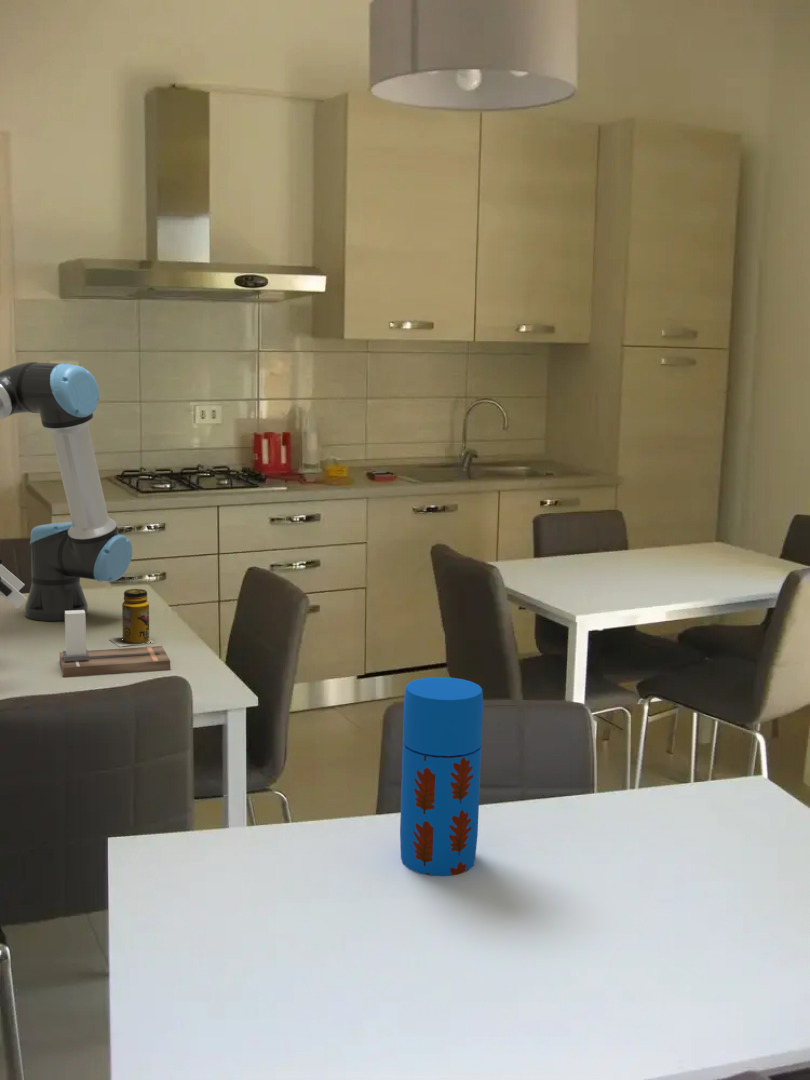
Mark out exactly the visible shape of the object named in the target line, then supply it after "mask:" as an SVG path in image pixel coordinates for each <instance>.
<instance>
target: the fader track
mask: <svg viewBox="0 0 810 1080" xmlns="http://www.w3.org/2000/svg"><path fill="white" fill-rule="evenodd" d="M87 651H88V654H89V660H82V661H67V662H65V661H64V657H63V651H62V652H59V663H60V668H62V669H61V671H62V672H61V673H62V676H63V678H70V677H83V676H100V675H110V674H111V675H113V674H114V675H115V674H126V673H127V674H128V673H141V672H144V673H145V672H157V671H158V672H159V671H169V670H171V659H170V658H169V656H168V654H167V652H166V651H165V649H164V647H163V645H157V646H156V645H155V646H150V645H149V646H147V645H146V646H144V647H143V646H142V647H139V646H138V647H125V648H110V649H108V648H107V649H95V650H94V649H93V650H92V649H91V650H87Z"/></svg>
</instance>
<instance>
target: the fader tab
mask: <svg viewBox="0 0 810 1080" xmlns="http://www.w3.org/2000/svg"><path fill="white" fill-rule="evenodd" d="M86 623H87V621H86V615H85V611H84V610H72V611H65V620H64V632H65V634H64V636H65V639H64V640H65V650H62V652H63V657H64V661H65V662H67V661H82V660H89V654H88V651H89V650H88V649H87V633H86V632H87V629H86V628H87V627H86V626H87V625H86Z"/></svg>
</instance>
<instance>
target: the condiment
mask: <svg viewBox="0 0 810 1080" xmlns="http://www.w3.org/2000/svg"><path fill="white" fill-rule="evenodd" d="M123 596H124V597H123V602H122V604H121V605H122V614H121V615H122V616H121V617H122V636H121V637H110V638H109V640H110V641H111V642H112V643H114V644H115V645H116V646H118V647H121V648H122V647H127V646H140V645H144V644H143V643H148V642H149V643H148V644H154V643H155V640H152V639H150V603H149V601H148V592H147V590H146V589H142V588H131V589H126V590H125V591H124V592H123ZM122 639H123V640H122ZM150 642H151V643H150ZM148 644H147V645H148Z"/></svg>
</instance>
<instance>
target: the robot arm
mask: <svg viewBox="0 0 810 1080" xmlns="http://www.w3.org/2000/svg"><path fill="white" fill-rule="evenodd" d="M99 389H100V388H99V384H98V383H97V380H96V379H95V377H94V375H93V374H92V372H90V370H88V369H86V368H85V367H83V366H82V365H81V366H80V365H76V364H71V363H67V362H65V363H64V362H63V363H57V362H56V363H55V362H53V363H52V362H35V361H34V362H33V361H31V362H29V361H28V362H23V363H19V364H16V365H14V366H10V367H9V368H5V369H4V370H2V371H0V419H1V420H4V419H6V418H8V417H10V416H12V415H15V414H21V413H23V414H24V413H33V414H39V416H40V420H41V425H42V427H43V428H44V429H46V430H47V431H48V432H50V433H51V434H50V435H51V437H52V443H53V446H54V450H55V451H54V452H55V453H56V454H55V455H56V459H57V464H58V468H59V471H60V476H61V481H62V485H63V490H64V494H65V498H66V502H67V507H68V511H69V515H70V519H71V521H65V522H54V523H53V522H52V523H47V524H41V525H36V526H34V527H33V528H32V529H31V532H30V541H29V548H30V549H29V550H30V551H29V552H30V574H31V586H30V589H29V592H28V593H29V594H28V596H27V597H26V596H25V595H24V594H23V593H21V592H20V590H21V589H22V588H24V587H25V583H23V581H21V580H20V579H19V578H18V577H17V576H15V575H14V574H13V573H12V572H11V571H9V569H7V568H6V567H5V566H4V565H3V564H2V563H3V560H2V559H1V558H0V596H1V597H2V598H4V599H5V600H6V601H8V602H9V604H11V605H12V606H13V607H15V608H16V609H17V610H18V609H19V608H20V607H21V606H22V605H23V604H25V606H24V613H25V617H26V618H27V619H31V620H34V621H42V622H43V621H46V622H59V621H61V622H62V621H65V611H72V610H84V611H85V616H87V615H88V614H89V612H88V611H89V610H88V608H89V607H88V602H87V599H86V595H85V594H84V590H83V588H82V585H81V579H87V580H95V581H96V582H99V583H100V582H115V581H117V580H119V579H120V578H122V577H123V576H124V575H125V574H126V573H127V571H128V569H129V566H130V564H131V561H132V557H133V547H132V542H131V540H130V539H129V538H128V537H126V536H125V535H123V534H122V533H121V534H119V530H118V525H117V521H116V520H114V519H112V518H111V517H109V514H108V509H107V503H106V499H105V494H104V491H103V485H102V482H101V481H102V480H101V478H100V477H101V476H100V473H99V469H98V468H99V466H98V464H97V459H96V453H95V449H94V445H93V440H92V435H91V431H90V427H89V426H90V424H91V422H92V420H93V419H94V412H95V411H96V410H97V407H98V406H99V403H98V401H99V400H100V390H99ZM25 602H26V603H25ZM87 613H88V614H87ZM86 614H87V615H86Z"/></svg>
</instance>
